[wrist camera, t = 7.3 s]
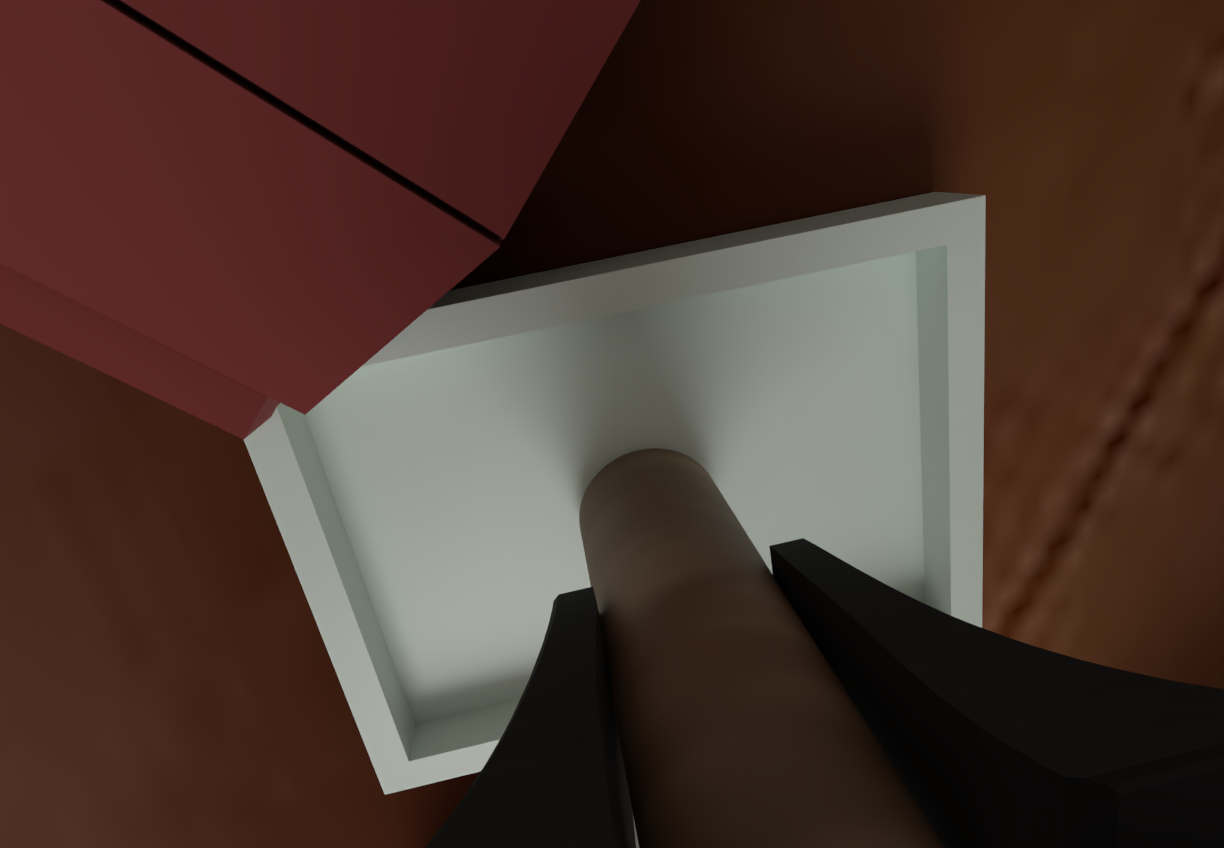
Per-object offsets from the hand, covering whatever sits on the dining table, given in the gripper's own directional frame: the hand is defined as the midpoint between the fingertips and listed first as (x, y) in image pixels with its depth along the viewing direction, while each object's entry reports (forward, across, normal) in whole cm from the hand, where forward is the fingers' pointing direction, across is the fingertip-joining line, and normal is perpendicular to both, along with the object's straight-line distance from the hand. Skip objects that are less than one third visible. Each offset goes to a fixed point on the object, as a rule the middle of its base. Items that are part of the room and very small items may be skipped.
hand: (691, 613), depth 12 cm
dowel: (+4, 0, 0) cm, 4 cm away
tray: (+5, 0, 0) cm, 5 cm away
